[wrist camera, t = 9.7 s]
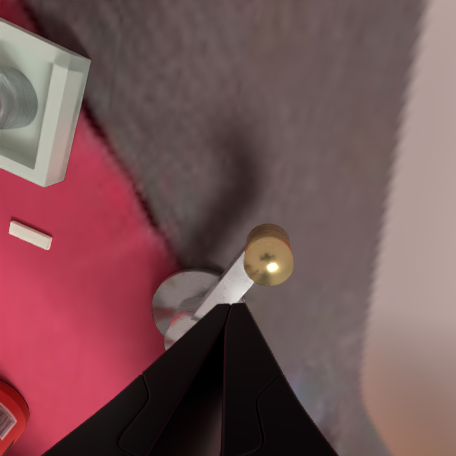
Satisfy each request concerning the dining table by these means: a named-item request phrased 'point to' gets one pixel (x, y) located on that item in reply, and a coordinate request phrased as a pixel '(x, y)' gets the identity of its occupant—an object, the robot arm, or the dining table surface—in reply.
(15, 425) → the canned food
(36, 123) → the tray
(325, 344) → the dining table surface
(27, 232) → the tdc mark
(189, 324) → the crank
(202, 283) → the crank base
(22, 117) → the glass jar
